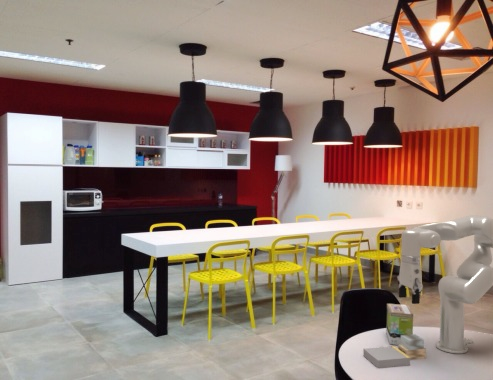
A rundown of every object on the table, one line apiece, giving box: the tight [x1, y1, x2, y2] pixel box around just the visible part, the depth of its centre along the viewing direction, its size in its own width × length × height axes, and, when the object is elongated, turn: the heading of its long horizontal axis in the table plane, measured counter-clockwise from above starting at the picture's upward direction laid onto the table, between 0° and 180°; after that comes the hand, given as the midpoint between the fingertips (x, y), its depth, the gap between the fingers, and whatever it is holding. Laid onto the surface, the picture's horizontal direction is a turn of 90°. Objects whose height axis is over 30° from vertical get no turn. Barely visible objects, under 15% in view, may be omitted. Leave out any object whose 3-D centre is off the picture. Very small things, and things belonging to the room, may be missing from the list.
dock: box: [362, 345, 411, 369], centre depth 180 cm, size 14×12×3 cm
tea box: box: [385, 303, 414, 346], centre depth 203 cm, size 15×10×15 cm, turn 168°
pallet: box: [397, 333, 427, 360], centre depth 184 cm, size 9×6×8 cm, turn 102°
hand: (408, 300), depth 184 cm, fingers open, 9 cm apart
